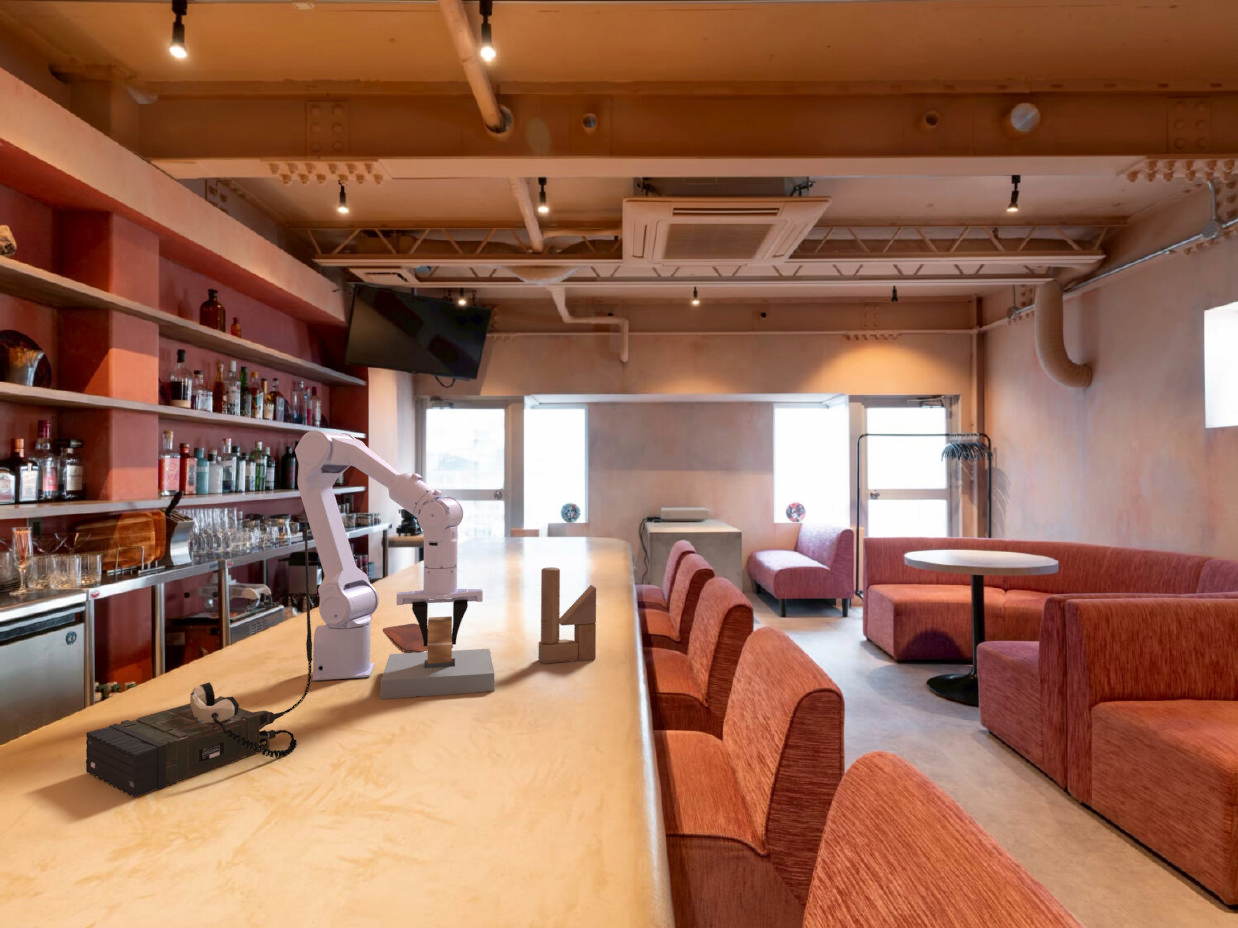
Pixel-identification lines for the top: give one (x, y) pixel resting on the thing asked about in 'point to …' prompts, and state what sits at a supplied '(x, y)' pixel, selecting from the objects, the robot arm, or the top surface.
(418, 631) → the wooden tablet
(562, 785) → the top surface
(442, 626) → the oak peg
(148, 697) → the top surface
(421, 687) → the slate board
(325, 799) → the top surface
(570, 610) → the wooden block
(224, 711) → the radio
